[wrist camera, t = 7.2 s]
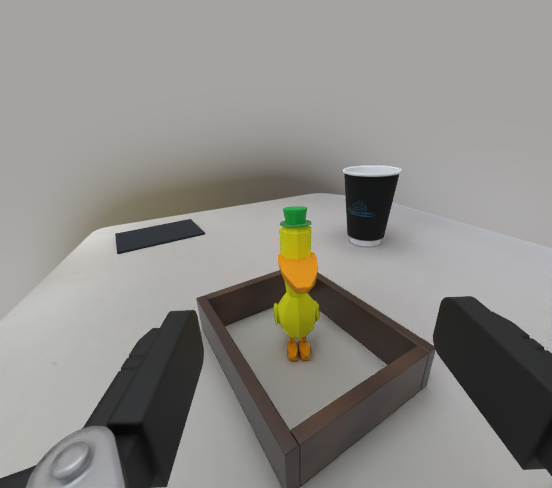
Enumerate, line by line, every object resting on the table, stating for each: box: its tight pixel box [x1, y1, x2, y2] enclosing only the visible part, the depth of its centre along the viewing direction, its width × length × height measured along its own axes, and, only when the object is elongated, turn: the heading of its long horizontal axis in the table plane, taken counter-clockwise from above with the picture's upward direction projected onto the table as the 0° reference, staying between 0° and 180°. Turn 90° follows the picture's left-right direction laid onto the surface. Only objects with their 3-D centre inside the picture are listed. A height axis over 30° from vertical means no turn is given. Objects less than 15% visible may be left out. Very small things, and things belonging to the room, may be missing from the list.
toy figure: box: [274, 207, 319, 361], centre depth 19 cm, size 7×4×12 cm, turn 2°
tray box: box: [196, 270, 436, 488], centre depth 21 cm, size 12×15×4 cm
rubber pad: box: [115, 219, 205, 254], centre depth 49 cm, size 14×10×1 cm
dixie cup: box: [343, 165, 402, 247], centre depth 40 cm, size 8×8×11 cm
